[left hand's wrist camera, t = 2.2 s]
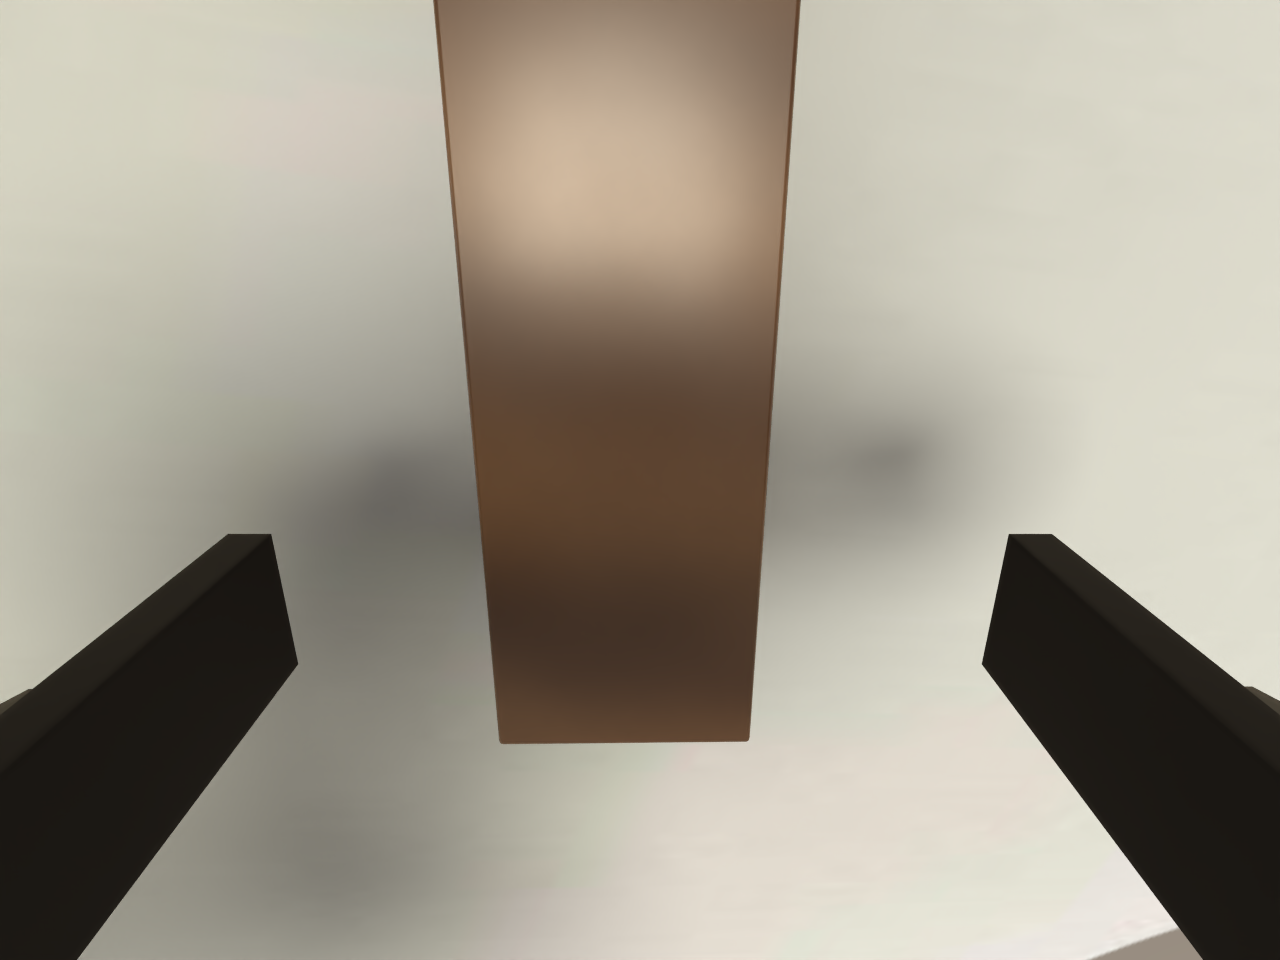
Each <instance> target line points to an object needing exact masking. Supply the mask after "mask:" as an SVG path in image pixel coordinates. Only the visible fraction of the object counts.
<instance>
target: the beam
mask: <svg viewBox="0 0 1280 960" xmlns="http://www.w3.org/2000/svg"><path fill="white" fill-rule="evenodd" d="M433 3H434V14H435V25H436V36H437V47H438V59H439V70H440V81H441V92H442V104H443V115H444V126H445V137H446V148H447V160H448V171H449V182H450V193H451V204H452V216H453V227H454V238H455V249H456V260H457V272H458V283H459V294H460V305H461V317H462V328H463V339H464V350H465V361H466V373H467V384H468V395H469V406H470V417H471V429H472V440H473V451H474V462H475V473H476V485H477V496H478V507H479V518H480V530H481V541H482V552H483V563H484V574H485V586H486V597H487V608H488V619H489V630H490V642H491V653H492V664H493V675H494V686H495V698H496V709H497V720H498V731H499V741H500V743H501V744H553V743H650V742H746V741H748V740H749V737H750V724H751V709H752V695H753V681H754V666H755V652H756V637H757V623H758V609H759V594H760V580H761V565H762V551H763V537H764V522H765V508H766V493H767V479H768V465H769V450H770V436H771V421H772V407H773V392H774V378H775V364H776V349H777V335H778V320H779V306H780V292H781V277H782V263H783V248H784V234H785V220H786V205H787V191H788V176H789V162H790V147H791V133H792V119H793V104H794V90H795V75H796V61H797V47H798V32H799V18H800V3H801V0H433Z"/></svg>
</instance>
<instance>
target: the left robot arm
mask: <svg viewBox="0 0 1280 960" xmlns="http://www.w3.org/2000/svg"><path fill="white" fill-rule="evenodd" d="M297 665H298V661H297V656H296V651H295V647H294V642H293V637H292V632H291V627H290V623H289V618H288V613H287V608H286V603H285V598H284V594H283V589H282V584H281V579H280V574H279V570H278V565H277V560H276V555H275V550H274V546H273V541H272V536H271V534H228V535H226V536H225V537H224V538H223V539H221V540H220V541H219V542H217V543H216V544H215V545H214V546H212V547H211V548H210V549H209V550H207V551H206V552H205V553H204V554H202V555H201V556H200V557H199V558H197V559H196V560H195V561H194V562H192V563H191V564H190V565H188V566H187V567H186V568H185V569H183V570H182V571H181V572H180V573H178V574H177V575H176V576H175V577H173V578H172V579H171V580H170V581H168V582H167V583H166V584H165V585H163V586H162V587H161V588H159V589H158V590H157V591H156V592H154V593H153V594H152V595H151V596H149V597H148V598H147V599H146V600H144V601H143V602H142V603H141V604H139V605H138V606H137V607H136V608H134V609H133V610H132V611H130V612H129V613H128V614H127V615H125V616H124V617H123V618H122V619H120V620H119V621H118V622H117V623H115V624H114V625H113V626H112V627H110V628H109V629H108V630H107V631H105V632H104V633H103V634H101V635H100V636H99V637H98V638H96V639H95V640H94V641H93V642H91V643H90V644H89V645H88V646H86V647H85V648H84V649H83V650H81V651H80V652H79V653H78V654H76V655H75V656H74V657H72V658H71V659H70V660H69V661H67V662H66V663H65V664H64V665H62V666H61V667H60V668H59V669H57V670H56V671H55V672H54V673H52V674H51V675H50V676H49V677H47V678H46V679H45V680H43V681H42V682H41V683H40V684H38V685H37V686H36V687H35V688H33V689H28V690H26V691H24V692H22V693H20V694H19V695H17V696H15V697H13V698H11V699H9V700H7V701H5V702H3V703H1V704H0V960H77V959H78V958H79V956H80V955H81V954H82V952H83V951H84V950H85V948H86V947H87V946H88V944H89V943H90V942H91V940H92V939H93V938H94V936H95V935H96V934H97V932H98V931H99V930H100V928H101V927H102V926H103V924H104V923H105V922H106V920H107V919H108V917H109V916H110V915H111V913H112V912H113V911H114V909H115V908H116V907H117V905H118V904H119V903H120V901H121V900H122V899H123V897H124V896H125V895H126V893H127V892H128V891H129V889H130V888H131V887H132V885H133V884H134V883H135V881H136V880H137V879H138V877H139V876H140V875H141V873H142V872H143V871H144V869H145V868H146V867H147V865H148V864H149V863H150V861H151V860H152V859H153V857H154V856H155V855H156V853H157V852H158V851H159V849H160V848H161V847H162V845H163V844H164V843H165V841H166V840H167V839H168V837H169V836H170V835H171V833H172V832H173V831H174V829H175V828H176V827H177V825H178V824H179V823H180V821H181V820H182V819H183V817H184V816H185V815H186V813H187V812H188V811H189V809H190V808H191V807H192V805H193V804H194V803H195V801H196V800H197V799H198V797H199V796H200V795H201V793H202V792H203V791H204V789H205V788H206V787H207V785H208V784H209V783H210V781H211V780H212V779H213V777H214V776H215V775H216V773H217V772H218V771H219V769H220V768H221V767H222V765H223V764H224V763H225V761H226V760H227V759H228V757H229V756H230V754H231V753H232V752H233V750H234V749H235V748H236V746H237V745H238V744H239V742H240V741H241V740H242V738H243V737H244V736H245V734H246V733H247V732H248V730H249V729H250V728H251V726H252V725H253V724H254V722H255V721H256V720H257V718H258V717H259V716H260V714H261V713H262V712H263V710H264V709H265V708H266V706H267V705H268V704H269V702H270V701H271V700H272V698H273V697H274V696H275V694H276V693H277V692H278V690H279V689H280V688H281V686H282V685H283V684H284V682H285V681H286V680H287V678H288V677H289V676H290V674H291V673H292V672H293V670H294V669H295V668H296V666H297ZM982 665H983V666H984V668H985V669H986V670H987V672H988V673H989V674H990V676H991V677H992V678H993V680H994V681H995V682H996V684H997V685H998V686H999V688H1000V689H1001V690H1002V692H1003V693H1004V694H1005V696H1006V697H1007V698H1008V700H1009V701H1010V702H1011V704H1012V705H1013V706H1014V708H1015V709H1016V710H1017V712H1018V713H1019V714H1020V716H1021V717H1022V718H1023V720H1024V721H1025V722H1026V724H1027V725H1028V726H1029V728H1030V729H1031V730H1032V732H1033V733H1034V734H1035V736H1036V737H1037V738H1038V740H1039V741H1040V742H1041V744H1042V745H1043V746H1044V748H1045V749H1046V750H1047V752H1048V753H1049V754H1050V756H1051V757H1052V759H1053V760H1054V761H1055V763H1056V764H1057V765H1058V767H1059V768H1060V769H1061V771H1062V772H1063V773H1064V775H1065V776H1066V777H1067V779H1068V780H1069V781H1070V783H1071V784H1072V785H1073V787H1074V788H1075V789H1076V791H1077V792H1078V793H1079V795H1080V796H1081V797H1082V799H1083V800H1084V801H1085V803H1086V804H1087V805H1088V807H1089V808H1090V809H1091V811H1092V812H1093V813H1094V815H1095V816H1096V817H1097V819H1098V820H1099V821H1100V823H1101V824H1102V825H1103V827H1104V828H1105V829H1106V831H1107V832H1108V833H1109V835H1110V836H1111V837H1112V839H1113V840H1114V841H1115V843H1116V844H1117V845H1118V847H1119V848H1120V849H1121V851H1122V852H1123V853H1124V855H1125V856H1126V857H1127V859H1128V860H1129V861H1130V863H1131V864H1132V865H1133V867H1134V868H1135V869H1136V871H1137V872H1138V873H1139V875H1140V876H1141V877H1142V879H1143V880H1144V881H1145V883H1146V884H1147V885H1148V887H1149V888H1150V889H1151V891H1152V892H1153V893H1154V895H1155V896H1156V897H1157V899H1158V900H1159V901H1160V903H1161V904H1162V905H1163V907H1164V908H1165V909H1166V911H1167V912H1168V913H1169V915H1170V916H1171V917H1172V919H1173V920H1174V922H1175V923H1176V924H1177V926H1178V927H1179V928H1180V930H1181V931H1182V932H1183V933H1184V935H1185V936H1186V937H1187V939H1188V940H1189V941H1190V943H1191V944H1192V945H1193V947H1194V948H1195V950H1196V951H1197V952H1198V953H1199V955H1200V956H1201V958H1202V959H1203V960H1280V701H1279V700H1277V699H1275V698H1273V697H1271V696H1269V695H1267V694H1265V693H1263V692H1261V691H1260V690H1258V689H1256V688H1254V687H1244V686H1243V685H1242V684H1240V683H1239V682H1238V681H1237V680H1235V679H1234V678H1233V677H1231V676H1230V675H1229V674H1228V673H1226V672H1225V671H1224V670H1223V669H1221V668H1220V667H1219V666H1218V665H1216V664H1215V663H1214V662H1213V661H1211V660H1210V659H1209V658H1208V657H1206V656H1205V655H1204V654H1202V653H1201V652H1200V651H1199V650H1197V649H1196V648H1195V647H1194V646H1192V645H1191V644H1190V643H1189V642H1187V641H1186V640H1185V639H1184V638H1182V637H1181V636H1180V635H1179V634H1177V633H1176V632H1175V631H1173V630H1172V629H1171V628H1170V627H1168V626H1167V625H1166V624H1165V623H1163V622H1162V621H1161V620H1160V619H1158V618H1157V617H1156V616H1155V615H1153V614H1152V613H1151V612H1150V611H1148V610H1147V609H1146V608H1144V607H1143V606H1142V605H1141V604H1139V603H1138V602H1137V601H1136V600H1134V599H1133V598H1132V597H1131V596H1129V595H1128V594H1127V593H1126V592H1124V591H1123V590H1122V589H1121V588H1119V587H1118V586H1117V585H1115V584H1114V583H1113V582H1112V581H1110V580H1109V579H1108V578H1107V577H1105V576H1104V575H1103V574H1102V573H1100V572H1099V571H1098V570H1097V569H1095V568H1094V567H1093V566H1092V565H1090V564H1089V563H1088V562H1086V561H1085V560H1084V559H1083V558H1081V557H1080V556H1079V555H1078V554H1076V553H1075V552H1074V551H1073V550H1071V549H1070V548H1069V547H1068V546H1066V545H1065V544H1064V543H1063V542H1061V541H1060V540H1059V539H1057V538H1056V537H1055V536H1054V535H1052V534H1009V536H1008V541H1007V546H1006V550H1005V555H1004V560H1003V565H1002V570H1001V574H1000V579H999V584H998V589H997V594H996V598H995V603H994V608H993V613H992V618H991V623H990V627H989V632H988V637H987V642H986V647H985V651H984V656H983V661H982Z"/></svg>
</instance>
